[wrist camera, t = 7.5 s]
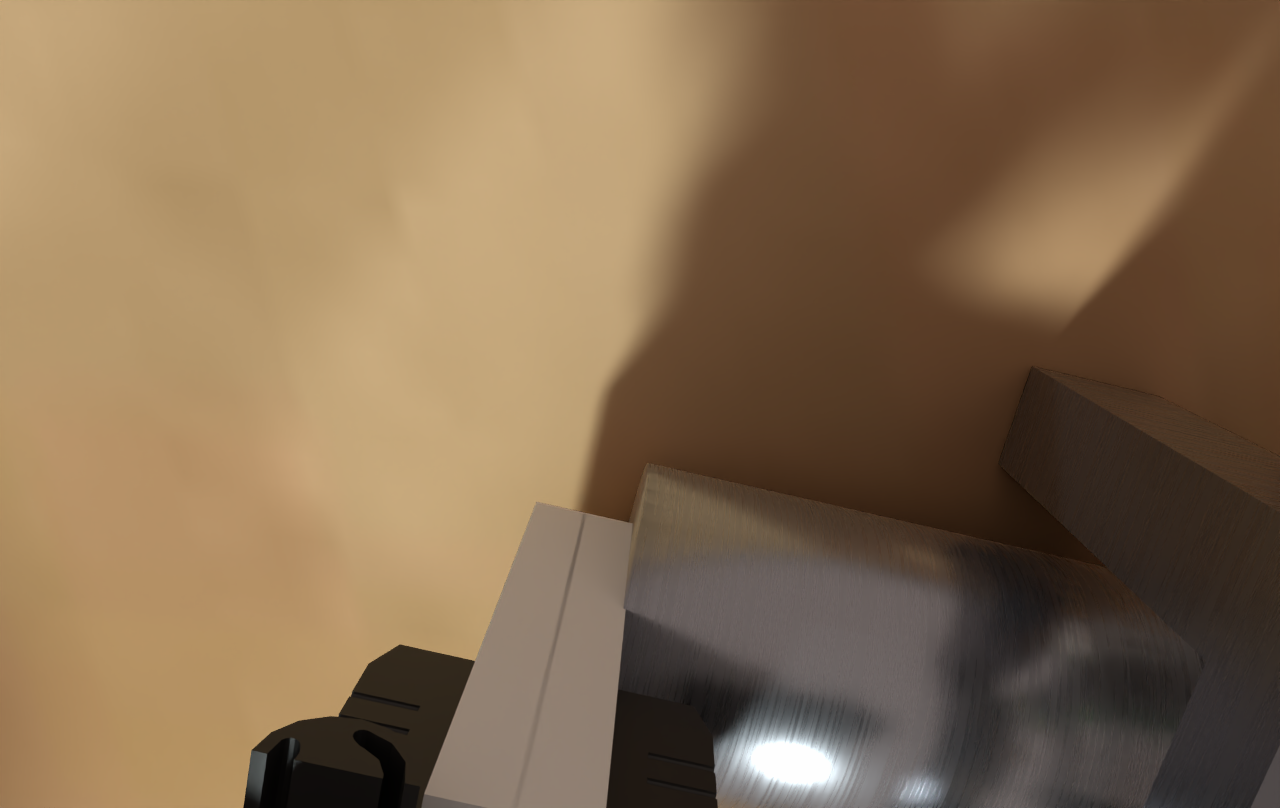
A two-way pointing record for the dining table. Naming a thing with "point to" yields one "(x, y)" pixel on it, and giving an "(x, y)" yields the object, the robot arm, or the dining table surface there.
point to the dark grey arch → (1174, 560)
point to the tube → (892, 656)
